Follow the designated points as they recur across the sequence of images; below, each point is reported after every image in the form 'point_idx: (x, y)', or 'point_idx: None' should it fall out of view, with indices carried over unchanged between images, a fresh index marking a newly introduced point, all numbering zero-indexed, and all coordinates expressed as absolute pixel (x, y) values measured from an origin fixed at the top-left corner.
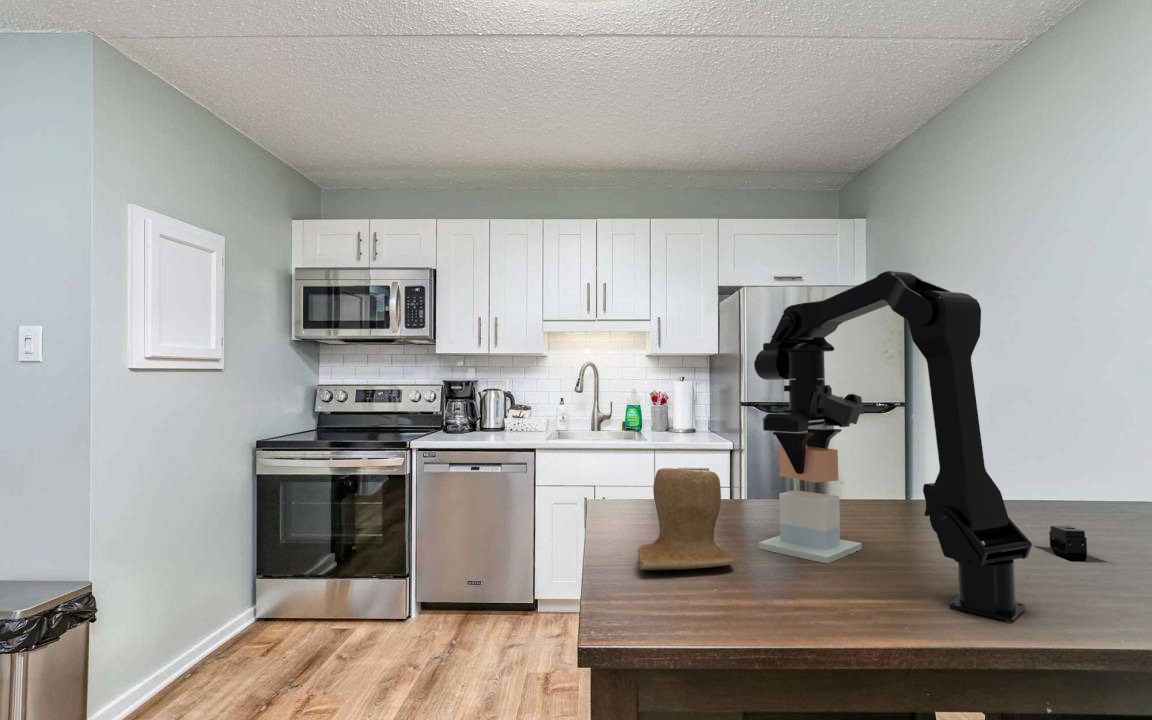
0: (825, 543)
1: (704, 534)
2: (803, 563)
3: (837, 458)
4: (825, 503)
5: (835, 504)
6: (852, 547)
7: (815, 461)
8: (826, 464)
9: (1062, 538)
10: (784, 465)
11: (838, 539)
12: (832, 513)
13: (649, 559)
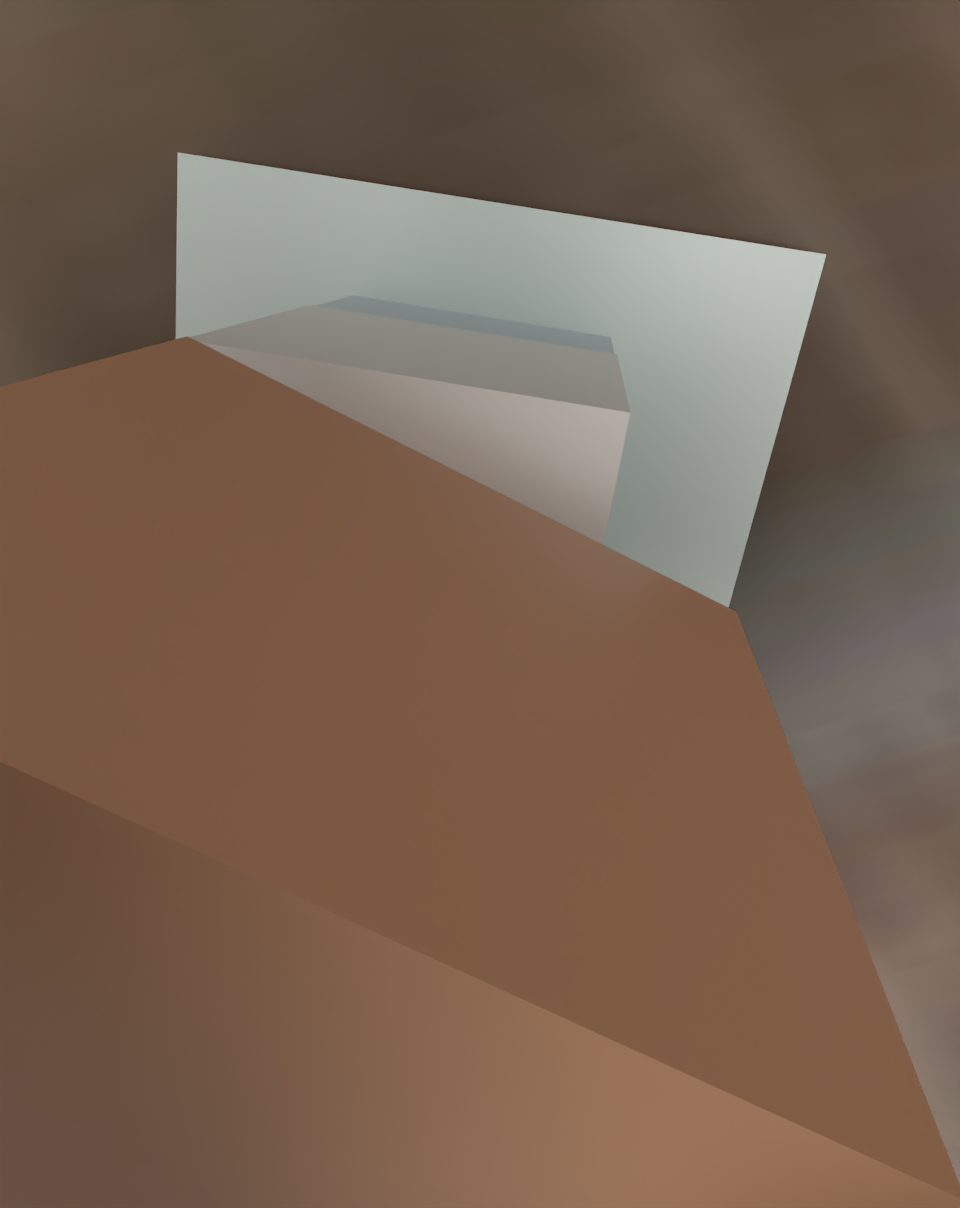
0: (611, 344)
1: None
2: (893, 413)
3: None
4: (612, 400)
5: (329, 347)
6: (358, 181)
7: (821, 867)
8: (419, 608)
9: None
10: None
11: (370, 303)
12: (435, 348)
13: None
